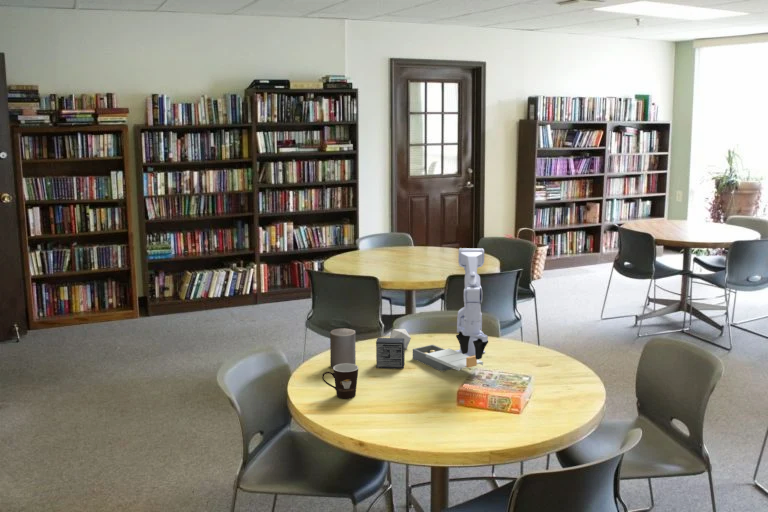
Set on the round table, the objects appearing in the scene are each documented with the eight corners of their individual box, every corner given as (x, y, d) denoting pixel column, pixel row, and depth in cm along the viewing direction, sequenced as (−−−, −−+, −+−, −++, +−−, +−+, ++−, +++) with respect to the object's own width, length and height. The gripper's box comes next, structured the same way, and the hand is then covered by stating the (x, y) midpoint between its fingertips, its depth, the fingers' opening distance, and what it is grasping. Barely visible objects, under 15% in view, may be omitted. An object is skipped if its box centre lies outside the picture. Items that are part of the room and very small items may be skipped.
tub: (432, 354, 301) (432, 344, 301) (462, 366, 287) (462, 356, 286) (412, 358, 296) (412, 349, 295) (441, 371, 281) (441, 361, 281)
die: (405, 354, 304) (416, 332, 306) (387, 343, 303) (398, 322, 306) (401, 355, 312) (411, 334, 314) (383, 345, 311) (393, 324, 313)
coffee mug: (362, 392, 260) (362, 365, 258) (353, 401, 252) (353, 373, 250) (331, 388, 264) (330, 361, 262) (321, 397, 256) (320, 369, 254)
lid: (449, 351, 294) (449, 341, 293) (484, 365, 277) (484, 354, 277) (425, 356, 287) (425, 346, 286) (460, 371, 271) (460, 360, 270)
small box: (405, 363, 290) (405, 337, 288) (403, 369, 284) (403, 342, 282) (377, 362, 291) (377, 336, 289) (375, 368, 285) (375, 341, 283)
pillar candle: (325, 365, 288) (324, 327, 285) (346, 360, 294) (346, 323, 291) (339, 372, 280) (339, 333, 278) (361, 367, 286) (360, 329, 283)
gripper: (450, 317, 275) (450, 352, 277) (477, 326, 263) (476, 363, 266) (465, 314, 279) (464, 349, 281) (492, 323, 267) (491, 359, 270)
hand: (471, 356), depth 274 cm, fingers open, 7 cm apart
